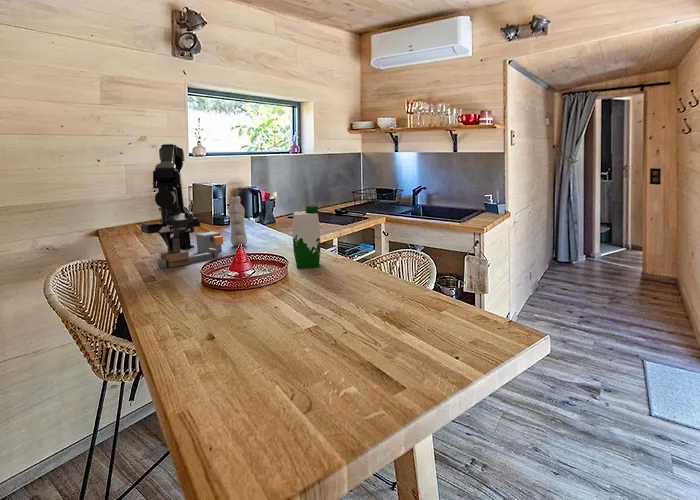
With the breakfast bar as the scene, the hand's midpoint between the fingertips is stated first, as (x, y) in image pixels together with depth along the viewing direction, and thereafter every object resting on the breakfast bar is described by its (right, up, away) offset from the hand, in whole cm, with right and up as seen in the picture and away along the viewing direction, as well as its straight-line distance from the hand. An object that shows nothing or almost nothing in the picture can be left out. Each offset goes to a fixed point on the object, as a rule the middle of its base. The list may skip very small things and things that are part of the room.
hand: (174, 249), depth 161 cm
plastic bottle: (+15, +1, +32) cm, 35 cm away
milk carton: (+46, -6, -3) cm, 47 cm away
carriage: (0, -5, +1) cm, 6 cm away
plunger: (+8, +2, +19) cm, 21 cm away
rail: (+3, -5, +5) cm, 7 cm away
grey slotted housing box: (+5, 0, +23) cm, 23 cm away
